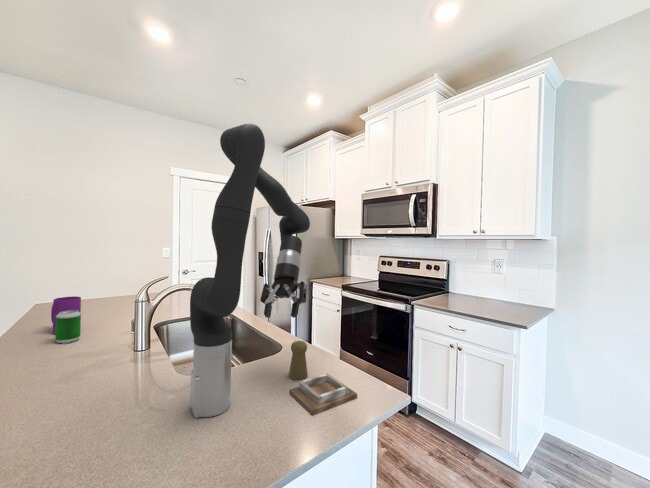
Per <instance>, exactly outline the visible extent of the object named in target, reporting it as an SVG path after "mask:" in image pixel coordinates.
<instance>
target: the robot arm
mask: <svg viewBox="0 0 650 488" xmlns="http://www.w3.org/2000/svg"><path fill="white" fill-rule="evenodd" d="M219 143H220V148H221V150H222V152H223V154H224V155H225V156H226V158H227V159H228V160H229V161H230V162H231V163H232V165H234V167H233V170H232V172H231V175H230V176H229V178H228V180H227V181H226V183H225V185H224V186H223V188H222V189H221V190H220V192H219V194H218V197H217V198H216V200H215V204H214V209H213V214H212V218H211V225H210V226H211V227H210V228H211V235H212V238H213V242H214V247H215V251H216V266H215V272H214V277H203V278H201V279H199V280H198V281H197V282H196V283H195V284H194V285H193V287H192V289H191V292H190V297H189V298H190V299H189V315H190V316H189V319H190V330H191V333H192V336H193V352H192V353H193V354H192V356H193V358H192V369H191V371H190V390H189V392H190V393H189V394H190V397H189V404H190V405H189V407H190V410H191V412H192V416H193V418H194V419H198V418H210V417H214V416H215V417H216V416H218V415H221V414H223V413H224V412H226V411H227V410H228V409H229V408H230V406H231V396H232V395H231V393H232V392H231V388H232V387H231V386H232V358H233V357H232V354H233V353H232V352H233V329H232V327H231V326H230V325H229V324H228V323H227V321H226V319H225V317H228V316H230V315H231V314H233V312H235V310H236V308H237V307H238V304H239V301H240V297H241V287H242V286H241V285H242V272H243V260H244V253H245V246H246V239H247V234H248V228H249V223H250V218H251V214H252V213H251V211H252V205H253V200H254V196H255V195H254V194H255V190H257V191H258V192H259V193H260V194H261V196H262V197H263V199H264V200H265V202H267V204H268V205H269V207H270V209H271V210H272V211H273V213H274V214H275V215H277V216H279V217H281V218H280V220H279V222H278V229H279V235H280V246H279V251H278V256H277V258H276V264H275V270H274V271H275V272H274V275H273V276H274V277H273V283H272V284H268V283H264V284H263V288H262V292H261V294H260V295H261V296H260V299H259V301H260V302H261V303H263V304H264V309H263V310H264V311H263V316H264V317H265V318H268V319H270V318H271V315H272V311H273V304H274V303H276V302H277V301H278V300H279V299H291V300H292V302H293V303H291V311H290V317H292V318H295V319H296V318H297V316H298V315H299V310H300V308H299V307H300V305H301V304H306V302H307V291H308V285H307V284H306V283H305V282H304V281H300V282H298V281H299V274H300V268H301V254H302V246H303V242H302V241H303V240H302V239H301V238H300V237H299V236H296V234H302V233H305V232H307V231H308V230H310V225H311V221H310V218H309V216H308V214H307V213H306V212H305V211H304V210H303V209H302V208H301V207H299V206H298V204H296V203H295V202H294V201H293V200H292V198H291V197H290V195H289V194H288V192H287V190H286V189H285V187H284V186H283V185H282V184H281V183H280V182H279V181H278V180H277V179H276V178H275V177H273V176H271V175H270V174H269V173H268V172H267V171H266V170H264V169H263V168H262V167H261V165H262V162H263V159H264V154H265V150H266V149H265V148H266V140H265V135H264V132H263V130H262V129H261V128H260V127H259V126H258V125H257V124H254V123H244V124H240V125H237V126H234V127H230V128H228V129H226V130H224V131H222V133H221V136H220V139H219ZM297 289H299V294H298V296H299V297H298V296H297V294H296V291H297Z"/></svg>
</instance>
